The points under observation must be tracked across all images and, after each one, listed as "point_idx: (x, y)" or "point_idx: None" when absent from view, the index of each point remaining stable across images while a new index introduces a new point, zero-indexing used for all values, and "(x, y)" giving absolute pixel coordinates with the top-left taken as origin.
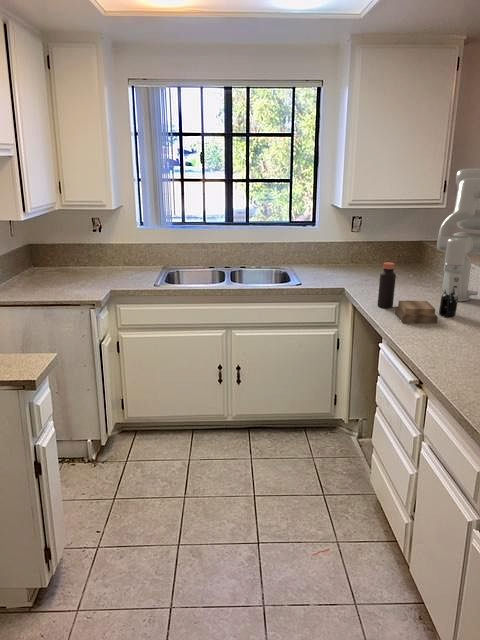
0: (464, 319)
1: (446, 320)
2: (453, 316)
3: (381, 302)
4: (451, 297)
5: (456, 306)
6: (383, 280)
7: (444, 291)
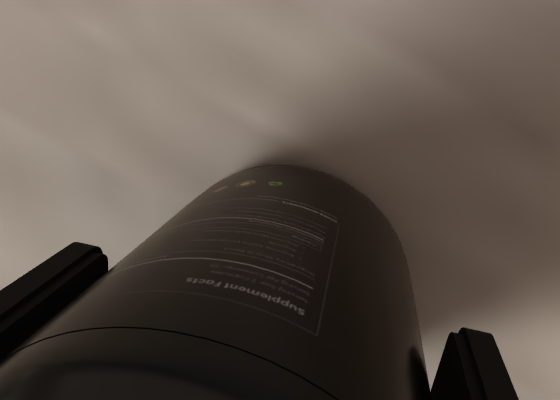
0: (543, 111)
1: None
2: (399, 243)
3: None
4: None
5: (387, 295)
6: None
7: None
